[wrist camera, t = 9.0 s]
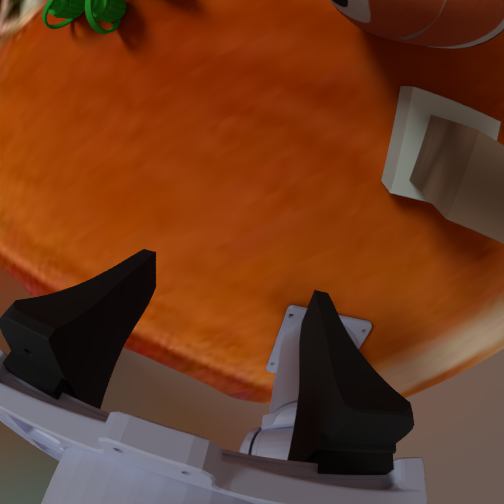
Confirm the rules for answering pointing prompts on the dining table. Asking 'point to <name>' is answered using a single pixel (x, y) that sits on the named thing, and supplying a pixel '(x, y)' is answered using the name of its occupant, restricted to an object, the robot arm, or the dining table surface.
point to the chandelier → (86, 12)
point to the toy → (427, 20)
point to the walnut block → (462, 176)
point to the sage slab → (423, 134)
